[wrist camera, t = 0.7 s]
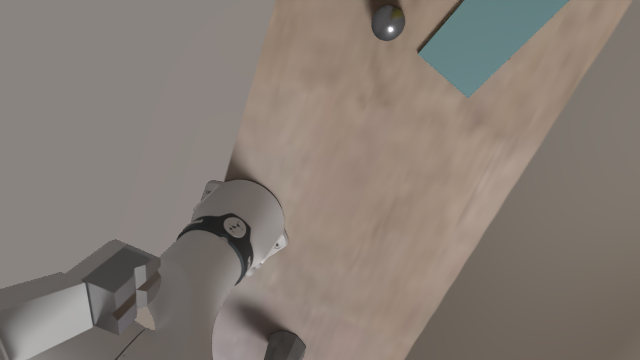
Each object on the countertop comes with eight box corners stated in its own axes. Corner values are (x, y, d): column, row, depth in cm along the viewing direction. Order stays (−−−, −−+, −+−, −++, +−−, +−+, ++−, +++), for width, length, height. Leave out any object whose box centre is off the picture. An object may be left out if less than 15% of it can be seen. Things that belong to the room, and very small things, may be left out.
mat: (467, 97, 46) (468, 98, 45) (417, 53, 45) (418, 53, 44) (580, -13, 38) (582, -13, 37) (522, -68, 37) (523, -69, 37)
